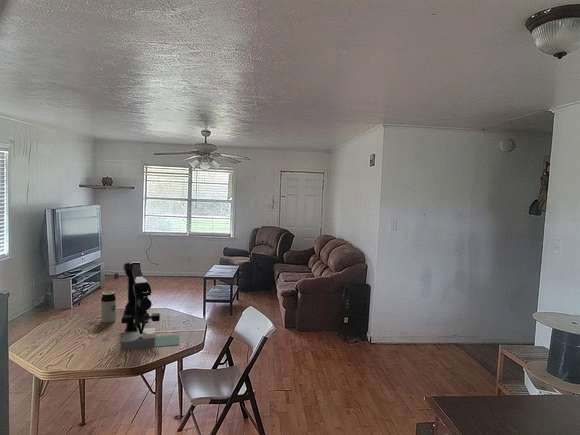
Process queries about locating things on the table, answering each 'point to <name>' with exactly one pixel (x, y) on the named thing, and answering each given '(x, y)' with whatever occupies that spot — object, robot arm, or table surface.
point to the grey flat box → (135, 341)
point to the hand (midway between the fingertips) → (141, 334)
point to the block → (148, 333)
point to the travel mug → (108, 307)
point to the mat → (167, 341)
